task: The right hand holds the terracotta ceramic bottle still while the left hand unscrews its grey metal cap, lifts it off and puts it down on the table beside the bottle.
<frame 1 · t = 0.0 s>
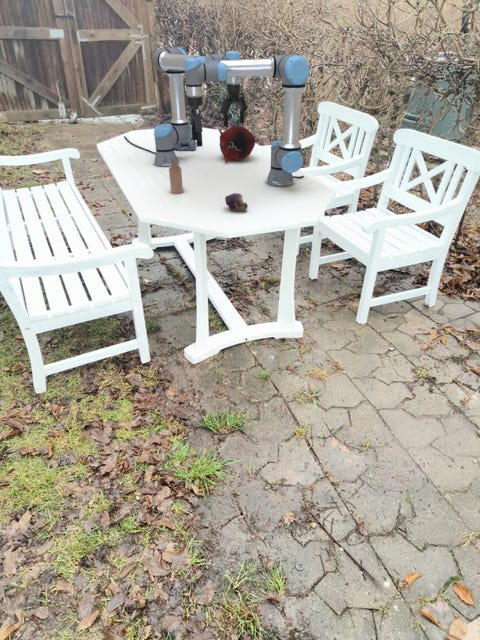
left hand: (234, 125, 259), 28 cm above the table, tool pointing down, fingers open, 13 cm apart
right hand: (197, 143, 224), 28 cm above the table, tool pointing down, fingers open, 13 cm apart
cap: (174, 158, 238), point 18 cm above the table, screwed on, not yet turned
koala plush: (184, 148, 327), on the table
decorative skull: (236, 158, 303), on the table
rock: (235, 209, 225), on the table
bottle: (177, 191, 248), on the table
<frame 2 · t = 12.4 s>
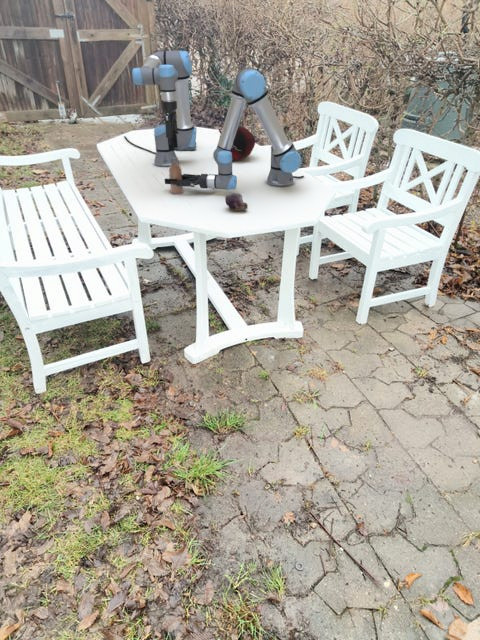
left hand: (173, 148, 236), 23 cm above the table, tool pointing down, fingers open, 6 cm apart
right hand: (167, 179, 245), 7 cm above the table, tool horizontal, fingers closed on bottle, 7 cm apart
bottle: (177, 191, 248), on the table, touching right hand
everything else where it was.
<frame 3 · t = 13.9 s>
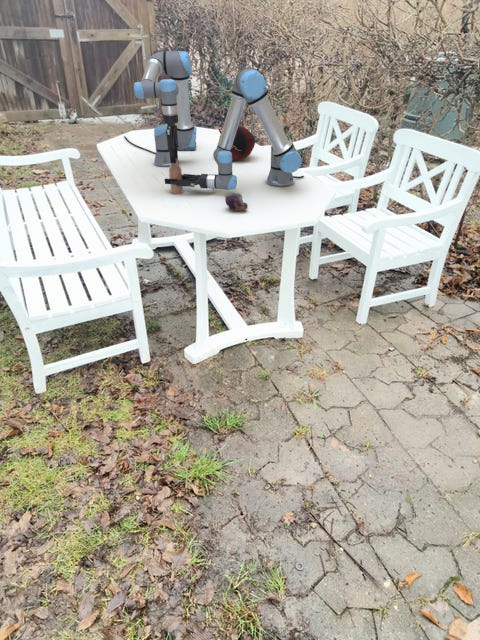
left hand: (174, 161, 239), 16 cm above the table, tool pointing down, fingers closed on cap, 4 cm apart
right hand: (167, 179, 245), 7 cm above the table, tool horizontal, fingers closed on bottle, 7 cm apart
cap: (174, 158, 238), point 18 cm above the table, screwed on, not yet turned, touching left hand
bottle: (177, 191, 248), on the table, touching right hand
everything else where it was.
when the left hand's fingers open (1 cm above the table, at t = 32.4 s): cap drops 1 cm, point 2 cm above the table.
when the right hand's fingers open (7 cm above the table, at t = 33.6 s): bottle stays where it is, on the table.
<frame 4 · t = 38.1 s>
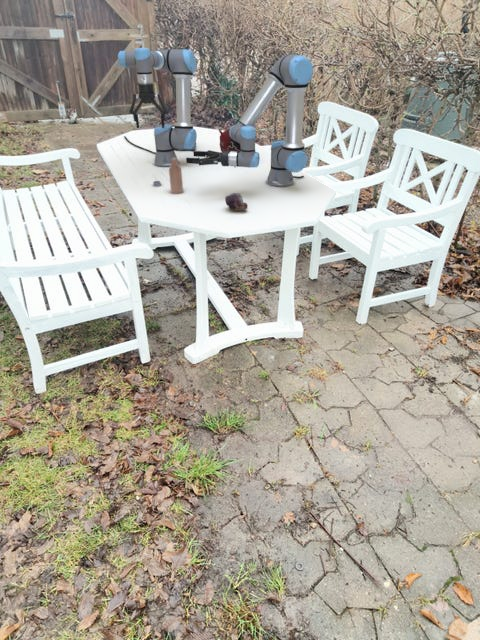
left hand: (150, 127, 241), 31 cm above the table, tool pointing down, fingers open, 13 cm apart
right hand: (190, 156, 236), 19 cm above the table, tool horizontal, fingers open, 13 cm apart
cap: (156, 182, 257), point 2 cm above the table, off its thread
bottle: (177, 191, 248), on the table
everything else where it was.
at the end: cap came off its thread; cap point 1.5 cm above the table; the left hand is holding nothing; the right hand is holding nothing; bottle tilted 0°; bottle moved 0.0 cm from its start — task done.
